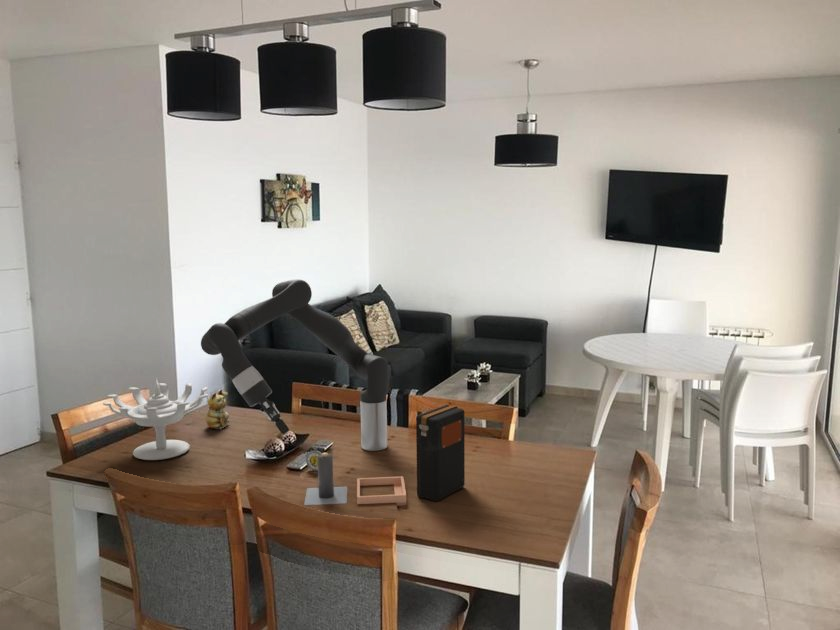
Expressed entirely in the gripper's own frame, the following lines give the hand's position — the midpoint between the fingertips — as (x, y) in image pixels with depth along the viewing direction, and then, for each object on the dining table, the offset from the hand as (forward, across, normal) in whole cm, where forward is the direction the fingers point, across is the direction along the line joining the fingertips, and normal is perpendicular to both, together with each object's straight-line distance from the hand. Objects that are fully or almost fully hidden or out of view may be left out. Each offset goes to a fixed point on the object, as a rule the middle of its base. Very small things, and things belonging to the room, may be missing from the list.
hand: (286, 432), depth 192 cm
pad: (+23, +8, +2) cm, 24 cm away
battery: (+22, +8, +1) cm, 23 cm away
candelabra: (-19, +60, +38) cm, 73 cm away
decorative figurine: (-16, +84, +19) cm, 87 cm away
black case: (+42, +5, -26) cm, 50 cm away
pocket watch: (+17, +26, +1) cm, 31 cm away
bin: (+32, +6, -11) cm, 34 cm away
